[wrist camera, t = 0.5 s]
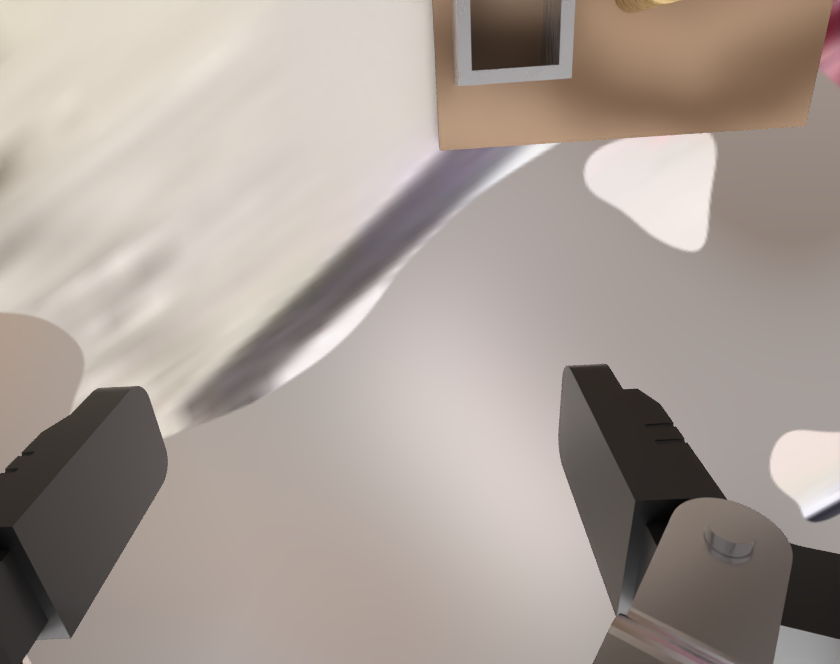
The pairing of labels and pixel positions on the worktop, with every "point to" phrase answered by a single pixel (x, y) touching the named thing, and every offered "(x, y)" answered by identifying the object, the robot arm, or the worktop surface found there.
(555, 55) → the link
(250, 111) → the worktop surface
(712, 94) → the board
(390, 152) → the worktop surface
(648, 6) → the cylinder
